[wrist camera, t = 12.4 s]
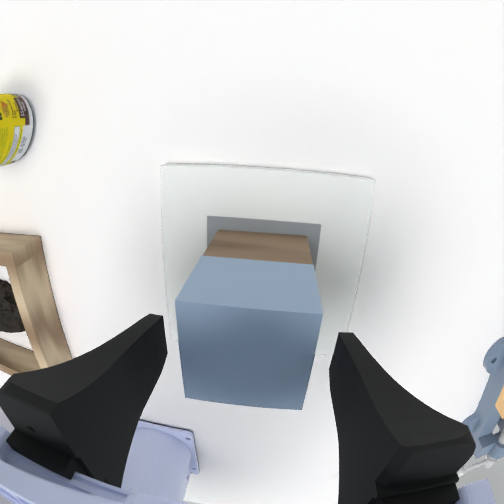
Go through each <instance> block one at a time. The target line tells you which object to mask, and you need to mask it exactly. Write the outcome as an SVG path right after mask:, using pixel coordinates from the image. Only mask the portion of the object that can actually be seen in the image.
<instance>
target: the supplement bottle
mask: <svg viewBox="0 0 504 504" xmlns="http://www.w3.org/2000/svg"><path fill="white" fill-rule="evenodd" d="M32 131H33V116H32V111H31V108H30V106H29V104H28V102H27V101H26V99H25V98H23V97H22V96H20V95H17V94H0V166H3V165H7V164H10V163H14V162H16V161H17V160H19V159H20V158H21V157H22V156H23V154H24V153H25V151H26V150H27V148H28V146H29V143H30V140H31V136H32Z"/></svg>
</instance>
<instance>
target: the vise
mask: <svg viewBox="0 0 504 504" xmlns="http://www.w3.org/2000/svg"><path fill="white" fill-rule="evenodd" d="M483 365H484V367H485V369H486V370H487V372H488V373H490V377H489V379H488V382H487V385H486V387H485V390H484V392H483V395H482V397H481V400H480V402H479V405H478V407H477V409H476V411H475V413H474V414H472V415H471V416H469V417H468V418H466V419H465V420H464V421H463V422H462V423H463V424H465V425H467V426H468V427H469V429H470V432H471V434H472V436H473V439H474V441H475V443H476V448H475V451H474V455H475V458H479V457H481V456H483V455H486V454H487V456H486V457H485V459H484V460H482V461H480V462H477V463H475V464H472V465H470V466H467V467H465V466H462V467H461V469H460V470H459V471H458V472H457V474H458V477H462V476H464V475H465V473H466V471H469V470H471V469H474V468H476V467H479V466H481V465H483V466H484V467H486V468H490V467H492V466H493V464H494V463H495V462H496V460H497V459H499V458H501V457H503V456H504V337H502V338H500V339H499V340H498V341H496V342H495V343H494V344H493V345H492V346H491V348H490V349H489V350H488V352H487V353H486V355H485V358H484V362H483ZM496 424H498V426H499V428H500V431H499V432H498V433H496V434H494V435H493V434H492V431H493V429H494V428H495V426H496Z"/></svg>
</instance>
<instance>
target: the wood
mask: <svg viewBox="0 0 504 504" xmlns="http://www.w3.org/2000/svg"><path fill="white" fill-rule="evenodd" d="M0 331H4V332H9V333H14V332H23V331H26V330H25V327H24V325H23V322H22V319H21V316H20V313H19V310H18V307H17V303H16V300H15V297H14V293H13V290H12V287H11V286H10V285H9V284H8V283H7V282H1V281H0Z"/></svg>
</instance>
